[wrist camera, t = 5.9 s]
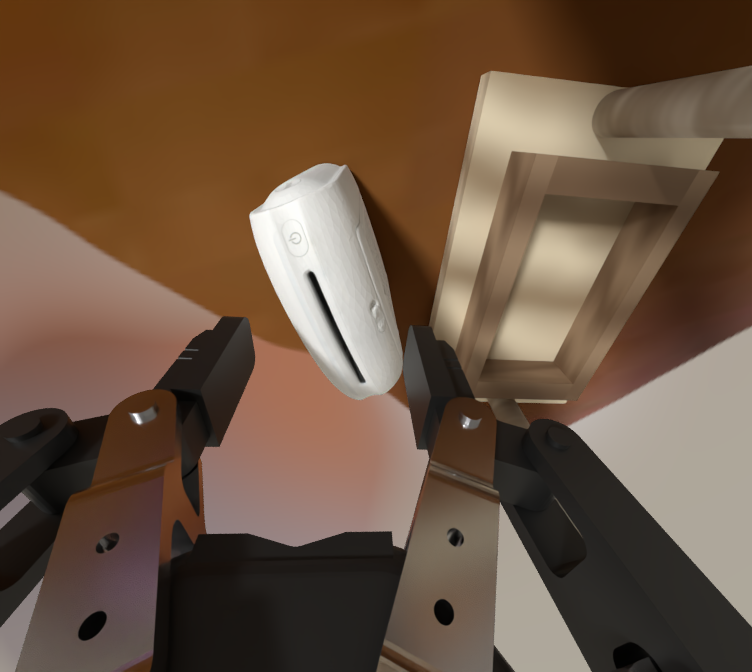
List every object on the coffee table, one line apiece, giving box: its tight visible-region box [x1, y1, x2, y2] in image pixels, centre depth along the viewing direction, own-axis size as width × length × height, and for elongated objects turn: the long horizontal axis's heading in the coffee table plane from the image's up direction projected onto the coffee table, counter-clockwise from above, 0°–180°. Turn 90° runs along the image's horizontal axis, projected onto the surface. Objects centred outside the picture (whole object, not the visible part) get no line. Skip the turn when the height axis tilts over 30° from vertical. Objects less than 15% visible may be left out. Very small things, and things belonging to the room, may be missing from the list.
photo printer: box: [250, 163, 403, 400], centre depth 17 cm, size 10×4×12 cm, turn 18°
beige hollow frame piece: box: [429, 66, 752, 538], centre depth 18 cm, size 24×15×14 cm, turn 175°
